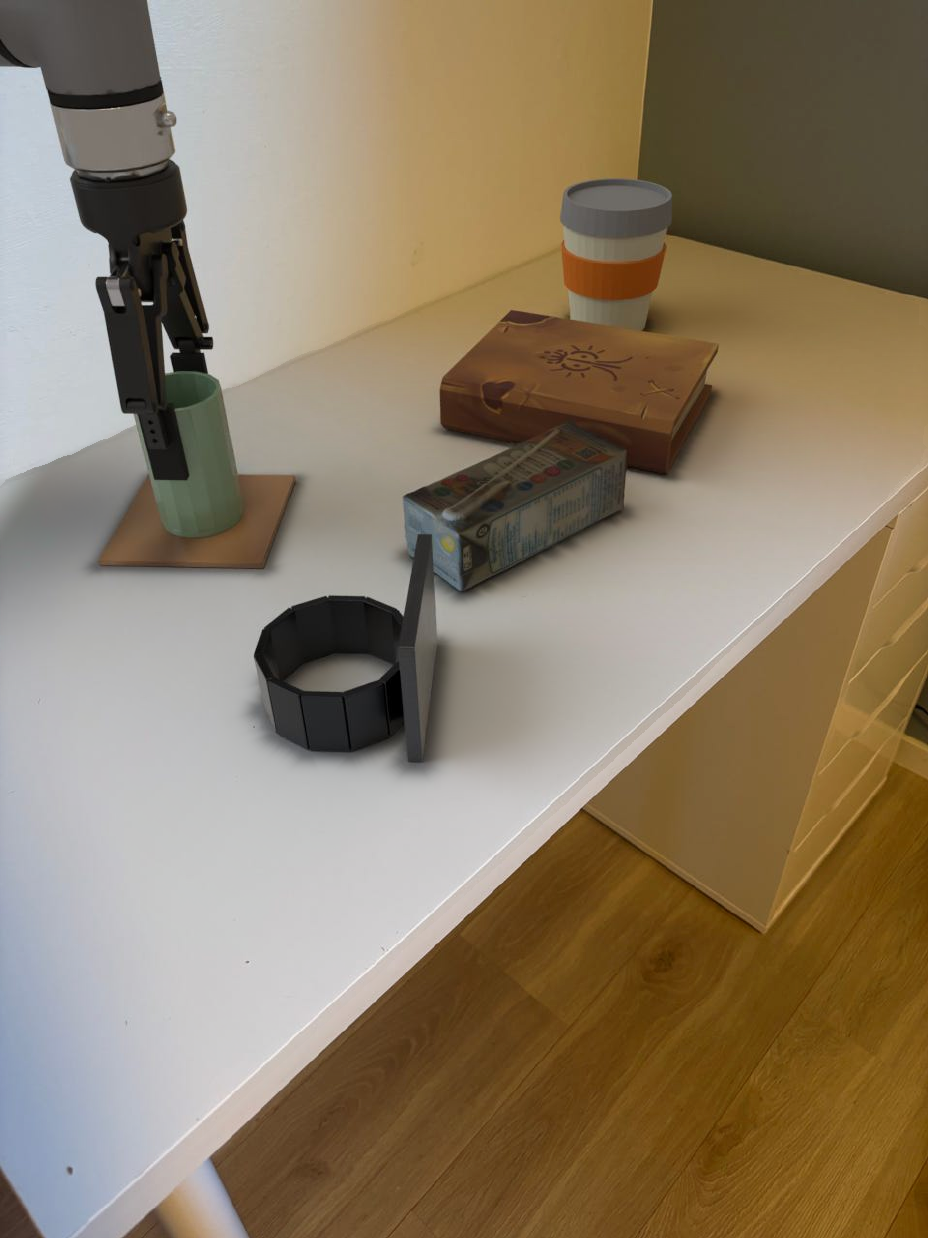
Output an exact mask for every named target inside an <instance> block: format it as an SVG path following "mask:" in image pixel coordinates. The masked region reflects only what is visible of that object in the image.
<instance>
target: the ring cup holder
mask: <svg viewBox="0 0 928 1238" xmlns="http://www.w3.org/2000/svg"><path fill="white" fill-rule="evenodd" d="M435 585H436V584H435V572H434V565H433V546H432V534H418V535H417V541H416V547H415V553H414V558H412V565H411V571H410V576H409V583H408V588H407V593H406V594H407V595H406V600H405V605H404V612H403V614H402V612H400V610H399V609H398V608H396V607H394V606H392V605H389V604H387V603H384V602H382V601H380V600H377V599H374V598H372V597H370V596H366V595H337V594H335V595H331V594H330V595H328V596H327V595H324V596H320V597H316V598H313V599H311V600H307V601H304V602H300V603H298V604H293V605H291V606H290V607H287V609H285V610H284V611H283V612H281V613H280V614H279V615H278V616H276V617H275V618H274V619H273V620H272V621H270V622H269V623H267V624H266V625H265V626H264V627H263V628H262V629H261V633H260V635H259V638H258V641H257V643H256V647H255V650H254V653H253V658H254V663H255V669H256V673H257V679H258V683H259V688H260V694H261V697H262V698H261V699H262V703H263V707H264V711H265V713H266V715H267V717H268V719H269V721H270V723H271V725H272V727H273V729H274V731H275V733H276V734H277V735H278V736H280V737H282V738H284V739H286V740H287V741H290V742H292V743H294V744H296V745H297V746H300V747H301V748H303V749H305V750H309V751H310V752H311V751H315V752H339V753H340V752H346V753H350V751H351V752H354V751H357V750H360V749H362V748H365V747H368V746H370V745H373V744H376V743H378V742H382V741H384V740H387V739H389V737H392V736H393V735H394V734H395V733H396V732H397V731H398V730H399V729H400V728H401V727H402V726H403V725H404V734H405V735H404V736H405V746H406V759H407V760H406V761H407V762H412V763H413V762H414V763H417V762H419V763H422V762H423V760H424V754H425V753H424V752H425V745H426V737H427V729H428V720H429V713H430V705H431V704H430V703H431V697H432V689H433V682H434V673H435V666H436V659H437V658H436V657H437V652H438V651H437V650H438V630H437V629H438V628H437V612H436V611H437V608H436V607H437V606H436V590H435V589H436V587H435ZM335 653H349V654H350V653H351V654H352V653H353V654H369V655H372V656H375V657H376V658H379V659H381V660H384V661H386V662H388V663H391V664H393V665H392V666H391V668H389V669H388V670H387V671H386V672H385V673H384V674H383V675H382V676H381V677H380V678H379V679H376V680H374V681H371V682H367V683H365V684H361V685H359V686H356V687H353V688H350V689H348V690H344V691H326V690H325V691H320V690H303V689H300V688H298V687H296V686H294V685H292V684H290V683H288V682H286V681H285V679H287V677H288V676H290V675H291V674H292V673H293V672H294V671H295V670H297V669H298V668H299V667H300V666H301V665H303V664H304V663H307V662H310V661H314V660H316V659H319V658H323V657H327V656H329V655H331V654H335Z"/></svg>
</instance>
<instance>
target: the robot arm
mask: <svg viewBox="0 0 928 1238" xmlns="http://www.w3.org/2000/svg"><path fill="white" fill-rule="evenodd" d="M156 49H157V48H156V44H155V39H154V34H153V28H152V21H151V15H150V10H149V4H148V0H0V67H1V68H4V67H5V68H6V67H9V68H11V67H12V68H13V67H15V68H17V67H19V68H26V69H27V68H28V69H38V68H40V71H41V76H42V78H43V79H42V80H43V83H44V85H45V86H44V87H45V89H46V91H47V95H48V100H49V104H50V109H51V113H52V116H53V121H54V125H55V129H56V133H57V138H58V141H59V145H60V148H61V149H60V150H61V154H62V157H63V161H64V163H65V165H67V166H68V167H70V168H71V169H73V171H72V172H71V175H70V177H69V181H70V186H71V190H72V194H73V197H74V201H75V204H76V209H77V212H78V217H79V221H80V223H81V225H82V226H83V227H84V228H85V229H86V230H87V231H89V232H91V233H93V234H97V235H99V236H101V237H102V238H104V239H105V240H106V241H107V244H108V245H107V247H108V254H109V255H108V257H109V258H108V263H109V273H110V274H109V276H96V278H95V282H94V283H95V284H94V285H95V290H96V294H97V296H98V299H99V302H100V305H101V308H102V311H103V315H104V320H105V321H104V322H105V326H106V333H107V339H108V344H109V349H110V355H111V360H112V366H113V371H114V372H113V373H114V378H115V384H116V389H117V395H118V401H119V406H120V410H121V412H122V414H124V415H125V414H126V415H134V414H138V418H139V422H140V426H141V430H142V434H143V438H144V442H145V446H146V450H147V453H148V457H149V461H150V465H151V469H152V473H153V477H154V480H188V478H189V476H190V475H189V471H188V466H187V462H186V458H185V453H184V449H183V445H182V440H181V436H180V431H179V427H178V423H177V418H176V414H175V409H174V405H173V403H167V394H166V379H165V373H166V365H165V352H164V351H165V350H164V338H163V337H164V336H163V328H164V331H165V332H166V335H167V337H168V339H169V341H170V344H171V346H172V348H173V349H174V350H178V352H175V351H173V352H172V353H171V354H170V355H169V359H170V363H171V367H172V372H178V371H197V372H201V373H206V374H209V370H208V365H207V360H206V355H205V352H202V351H201V350H203V351H204V350H205V351H208V350H209V351H211V350H213V349H214V338H213V336H204V334H208V333H209V331H210V324H209V321H208V317H207V313H206V310H205V306H204V302H203V298H202V294H201V292H200V287H199V283H198V279H197V275H196V272H195V269H194V264H193V261H192V257H191V253H190V249H189V244H188V238H187V231H186V224H185V221H184V220H185V218H186V217H187V214H188V205H187V201H186V196H185V190H184V185H183V180H182V173H181V168H180V166H179V165H178V164H176V162H175V161H174V160H172V158H173V156H174V154H175V153H176V148H175V141H174V137H173V132H172V131H173V130H172V128H173V127H175V126H176V125H177V116H176V114H175V113H174V112H173V111H170V110H168V107H167V106H168V105H167V100H166V95H165V91H164V85H163V81H162V77H161V73H160V68H159V66H160V65H159V62H158V55H157V50H156ZM143 303H152V304H143Z"/></svg>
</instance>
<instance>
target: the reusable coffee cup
mask: <svg viewBox="0 0 928 1238" xmlns="http://www.w3.org/2000/svg"><path fill="white" fill-rule="evenodd" d="M672 220H673V194H672V192H671V190H670V189H668V188H667V187H665V186H664V185H661V184H659V183H655V182H651V181H647V180H643V179H636V178H635V179H634V178H621V177H619V178H618V177H614V178H613V177H611V178H609V177H607V178H595V179H589V180H584V181H579V182H576V183H574V184H572V185H570V186H568V187H566V188H565V189H564V191H563V193H562V200H561V208H560V215H559V222H560V223H561V225H562V229H563V240H562V241H561V244H560V249H561V250H560V251H561V260H562V261H561V262H562V263H561V264H562V273H563V283H564V286H565V287H566V289H567V292H568V293H567V294H568V305H569V317H570V318H569V319H571V320H577V321H583V322H589V323H595V324H601V325H608V326H614V327H620V328H626V329H632V330H638V331H644V329H645V328H646V322H647V319H648V313H649V311H650V306H651V301H652V298H653V297H652V296H653V293H654V291H656V289H657V288H658V286H659V283H660V282H659V281H660V277H661V273H662V269H663V264H664V260H665V256H666V252H667V247H668V246H667V245H666V243H665V240H666V236H667V231H668V228H669V227H670V226H671V224H672Z"/></svg>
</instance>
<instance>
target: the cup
mask: <svg viewBox="0 0 928 1238" xmlns="http://www.w3.org/2000/svg"><path fill="white" fill-rule="evenodd" d="M165 379H166V394H167V403H173V405H174V409H175V414H176V418H177V423H178V427H179V431H180V436H181V440H182V445H183V449H184V453H185V458H186V462H187V466H188V471H189V475H190V476H189V478H188V480H154V477H153V473H152V469H151V465H150V461H149V457H148V453H147V450H146V446H145V442H144V438H143V434H142V430H141V426H140V422H139V418H138V414H133V417H134V421H135V425H136V429H137V433H138V437H139V440H140V446H141V449H142V453H143V457H144V460H145V464H146V465H145V466H146V469H147V472H148V474H149V476H150V480H151V484H152V488H153V492H154V496H155V500H156V504H157V508H158V512H159V516H160V519H161V522H162V525H163V527H164V528H165V529H166V530H167V531H168V532H170V533H172V534H174V535H177V536H181V537H187V538H199V537H207V536H212V535H215V534H219V533H221V532H224V531H226V530H228V529H230V528H231V527H233V526H234V525H235V524H237V523H238V522H239V520H240V519H241V518H242V516H243V513H244V507H243V499H242V494H241V489H240V484H239V478H238V474H239V473H238V469H237V464H236V457H235V452H234V446H233V443H232V436H231V431H230V425H229V421H228V415H227V411H226V405H225V400H224V394H223V390H222V385H221V383H220V380H219V379H218V378H216V377H215V376H213V375H211V374H209V373H208V374H206V373H201V372H197V371H178V372H173V371H172V372H165Z"/></svg>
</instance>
